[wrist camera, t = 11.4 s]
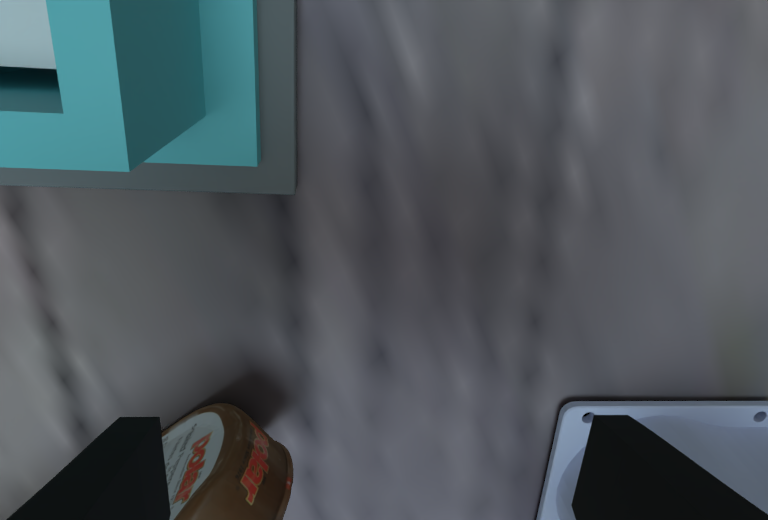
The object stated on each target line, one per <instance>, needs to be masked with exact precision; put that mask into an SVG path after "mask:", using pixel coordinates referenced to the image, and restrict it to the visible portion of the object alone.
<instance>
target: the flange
mask: <svg viewBox="0 0 768 520" xmlns="http://www.w3.org/2000/svg"><path fill="white" fill-rule="evenodd" d="M46 6H47V12H48V18H49V25H50V31H51V37H52V44H53V50H54V56H55V63H56V69H57V70H55V69H36V68H26V67H7V66H0V167H6V168H34V169H61V170H89V171H117V172H130V171H132V170H133V169H134V168H136V167H137V166H138V165H140V164H141V163H142V162H146V163H173V164H199V165H226V166H252V167H257V166H258V165H259V163H260V161H261V146H260V108H259V70H258V32H257V0H46Z"/></svg>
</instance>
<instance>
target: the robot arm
mask: <svg viewBox="0 0 768 520" xmlns="http://www.w3.org/2000/svg"><path fill="white" fill-rule="evenodd" d="M588 412H590V414H589V415H587V416H585V417H583V415H584V414H586V413H588ZM170 515H171V511H170V503H169V494H168V486H167V477H166V469H165V460H164V452H163V443H162V435H161V426H160V417H120V418H118V419H117V420H116V421H115V422H114V423H113V424H112V425H111V426H109V427H108V428H107V429H106V430H105V431H104V432H103V433H102V434H100V435H99V436H98V437H97V438H96V439H95V440H94V441H93V442H92V443H91V444H90V445H88V446H87V447H86V448H85V449H84V450H83V451H82V452H81V453H80V454H79V455H78V456H77V457H76V458H74V459H73V460H72V461H71V462H70V463H69V464H68V465H67V466H66V467H65V468H64V469H63V470H61V471H60V472H59V473H58V474H57V475H56V476H55V477H54V478H53V479H52V480H51V481H49V482H48V483H47V484H46V485H45V486H44V487H43V488H42V489H41V490H39V491H38V492H37V493H36V494H35V495H34V496H33V497H31V498H30V499H29V500H28V501H27V502H26V503H25V504H24V505H22V506H21V507H20V508H19V509H18V510H17V511H16V512H15V513H13V514H12V515H11V516H10V517H9V518H8V519H7V520H169V519H170ZM536 520H768V401H574V402H569V403H567V404H565V405H564V406H563V407H562V408H561V411H560V414H559V418H558V423H557V427H556V432H555V437H554V441H553V446H552V450H551V455H550V459H549V464H548V469H547V473H546V478H545V482H544V487H543V491H542V496H541V501H540V505H539V510H538V514H537V519H536Z"/></svg>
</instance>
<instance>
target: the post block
mask: <svg viewBox="0 0 768 520" xmlns="http://www.w3.org/2000/svg"><path fill="white" fill-rule="evenodd" d="M257 32H258V70H259V108H260V146H261V161H260V163H259V165H258V166H257V167H252V166H226V165H199V164H173V163H146V162H142V163H141V164H140V165H138V166H137V167H136V168H134V169H133V170H132V171H130V172H117V171H89V170H61V169H34V168H6V167H0V185H12V186H42V187H72V188H102V189H132V190H162V191H192V192H222V193H252V194H282V195H295V191H296V187H297V1H296V0H257ZM0 66H7V67H26V68H36V69H55V70H57V69H56V63H55V56H54V50H53V44H52V37H51V31H50V25H49V18H48V12H47V6H46V0H0Z"/></svg>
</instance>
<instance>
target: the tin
mask: <svg viewBox="0 0 768 520" xmlns="http://www.w3.org/2000/svg"><path fill="white" fill-rule="evenodd" d="M161 435H162V443H163V452H164V460H165V469H166V477H167V486H168V494H169V503H170V511H171V515H170V519H169V520H283V517H284V514H285V511H286V508H287V505H288V502H289V499H290V495H291V487H292V483H293V463H292V459H291V456H290V453H289V451H288V450H287V449H286V448H285V446H283V445H282V444H281V443H279V442H277V441H274V440H273V439H272V438H271V437H270V436H269V435H268V434H267V433H266V432H265V431H264V430H263V429H262V428H261V427H260V426H259V425H258V424H257V423H256V422H255V421H253V420H252V419H251V418H250V417H249V416H248V415H247V414H246V413H245V412H243V411H242V410H241V409H239V408H238V407H236V406H234V405H231V404H227V403H216V404H212V405H208V406H205V407H203V408H200V409H198V410H196V411H194V412H192V413H191V414H189V415H187V416H185V417H184V418H182V419H181V420H179V421H178V422H176V423H175V424H174V425H172V426H171V427H169V428H168V429H166V430H165V431H164V432H162V433H161Z"/></svg>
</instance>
